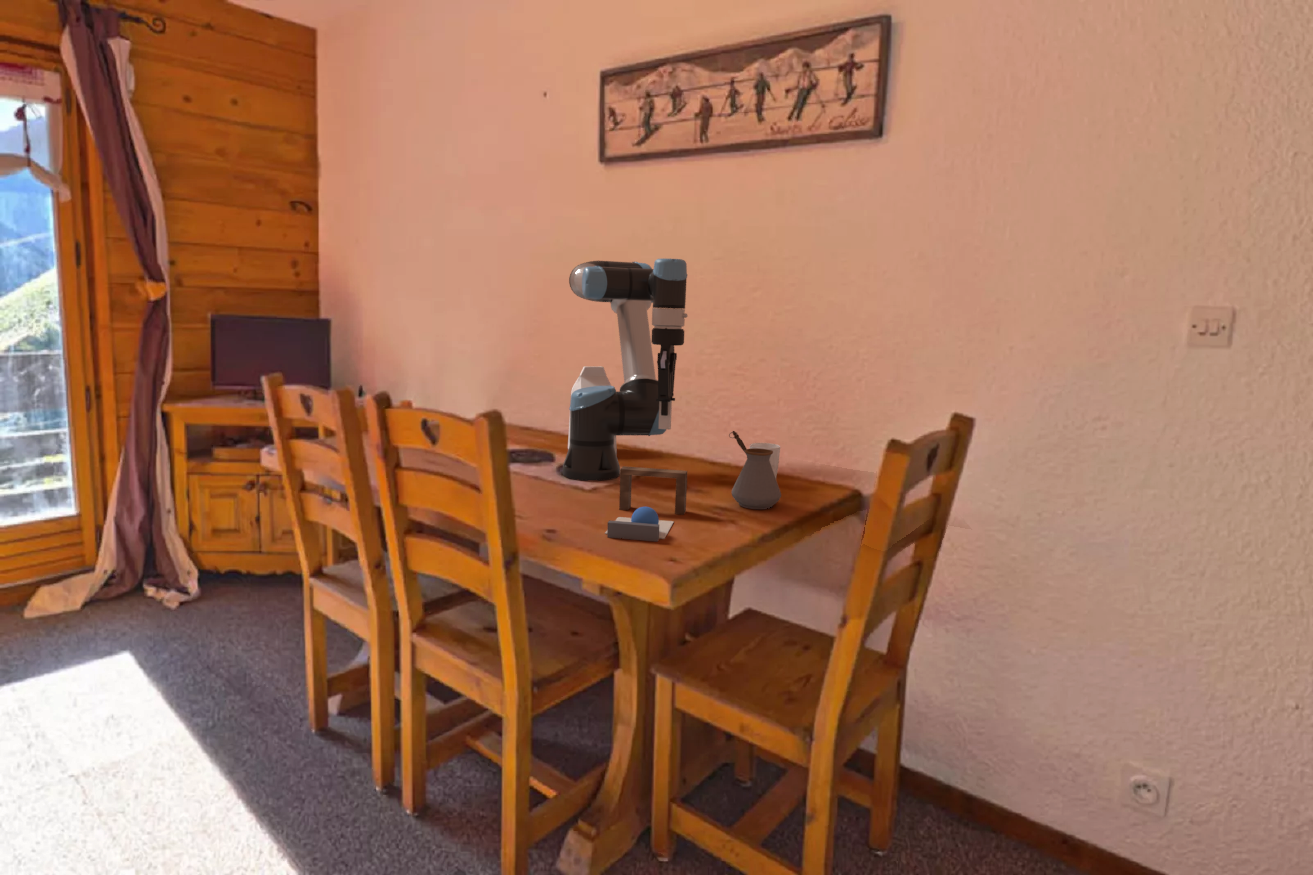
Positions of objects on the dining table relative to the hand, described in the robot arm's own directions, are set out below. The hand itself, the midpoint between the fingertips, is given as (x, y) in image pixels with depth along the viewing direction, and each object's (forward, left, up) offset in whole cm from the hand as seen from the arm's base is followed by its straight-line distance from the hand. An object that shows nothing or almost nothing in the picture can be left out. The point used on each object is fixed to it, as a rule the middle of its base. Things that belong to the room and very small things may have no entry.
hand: (664, 428), depth 180 cm
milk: (-30, +48, -17) cm, 59 cm away
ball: (+2, -31, -14) cm, 34 cm away
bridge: (0, -13, -16) cm, 21 cm away
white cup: (+23, +22, -17) cm, 36 cm away
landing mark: (0, -27, -16) cm, 32 cm away
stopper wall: (0, -34, -16) cm, 38 cm away
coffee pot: (+20, +3, -17) cm, 26 cm away
